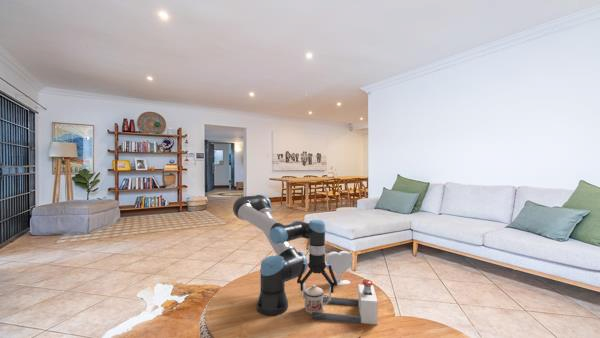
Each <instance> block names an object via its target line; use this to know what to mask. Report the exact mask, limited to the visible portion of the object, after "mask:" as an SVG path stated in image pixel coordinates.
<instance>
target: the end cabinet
mask: <svg viewBox="0 0 600 338" xmlns="http://www.w3.org/2000/svg"><path fill="white" fill-rule="evenodd" d="M357 290H358V295H357V296H358V298H357V299H358V300H359V305H358V311H359V316H361V323H360V324H366V325H367V324H369V325H378V312H379V311H378V309H379V308H378V303H379V302H378V299H377V298H378V297H377V294H376V291H375V288H374V285H373V284H372V285H371V295H364V285H363V284H359V283H358V289H357Z"/></svg>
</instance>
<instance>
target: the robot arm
mask: <svg viewBox="0 0 600 338" xmlns="http://www.w3.org/2000/svg"><path fill="white" fill-rule="evenodd" d="M271 204H272V202H271V200H270V199H269V197H268V196H266V195H264V194H256V195H247V196H240V197H238V198H237V199H236V200H235V201H234V203H233V205H232V212H233V214H234V216H235V217H236V218H237V219H239V220H241V221H246V222H247V223H249V224H251V225H253V226H254V227H255V228H257V229H259V230H261V231H262V232H263V234H264V235H265V237H266V239H267V241H269V244H270V245H271V247H272V249H273V251H274V253H275V254H276V255H271V256H267V257H266V258H264V259H263V260H261V263H260V269H259V272H260V292H259V295H258V298H257V301H256V310H257V311H258V313H260V314H262V315H265V316H278V315H280V314H283V313H285V312H286V311H287V310H288V309H289V299H288V297H287V295H286V291H285V284H286V282H289V281H290V280H294V279H296V278H297V280H296V283H297V284H299V285H300V292H302V299H304V300H305V293H304V292H305V289H306V283H305V282H306V280H308V278H309V277H310V276H311V275H312V274H319V275H322V276H323V278H325V280H326V281H327V284H328V283H329V284H328V285H329V286H328V289H329V291H328V296H329V301H331V297H332V294H334V287H335V286H338V285H337V277H336V275H335V272H334V271H333V270H332V265H331V264H327V263H326V242H325V241H326V223H325V221H324V220H321V219H312V220H310V221H309V222H305V221H301V220H294V221H292V222H291V223H289V224H284V223H281V222H278V220H275V219H274V216H272V214H271V213H272V205H271ZM300 238H301V239H306V240H308V244H309V245H308V248H309V250H308V253H309V254H308V259H307V257H306V254H305V253H303V252H301V251H298V250H297V248H296V247H295V246H291V245H290V242H291V241H294V240H298V239H300ZM308 268H309V269H308ZM326 268H327V270H328V272H329V274H330V276H329V275H328V273H327V272H326V270H325V269H326ZM307 270H308V272H307ZM305 273H306V274H305ZM304 274H305V275H304ZM303 275H304V277H303ZM302 277H303V278H302ZM330 277H331V278H330ZM332 281H333V282H332Z"/></svg>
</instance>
